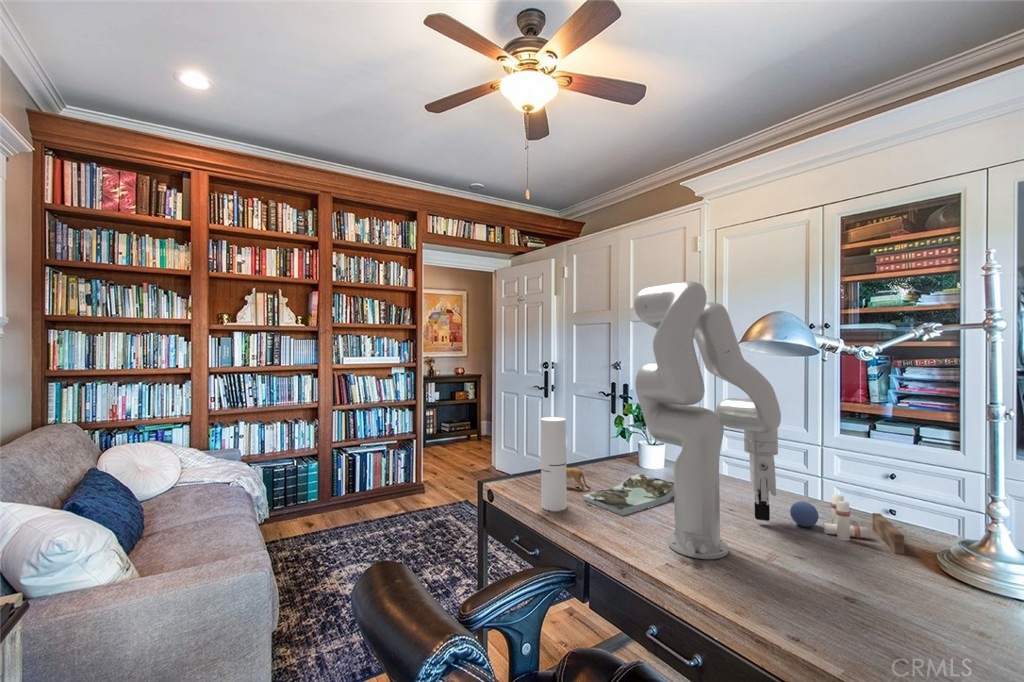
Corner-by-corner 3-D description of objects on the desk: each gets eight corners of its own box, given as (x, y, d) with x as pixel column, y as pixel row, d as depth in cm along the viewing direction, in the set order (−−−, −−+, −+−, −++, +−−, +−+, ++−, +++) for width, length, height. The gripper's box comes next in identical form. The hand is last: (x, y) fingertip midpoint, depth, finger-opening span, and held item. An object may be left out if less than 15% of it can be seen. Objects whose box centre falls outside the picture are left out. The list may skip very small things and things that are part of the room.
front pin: (826, 535, 108) (870, 540, 104) (825, 524, 108) (869, 529, 104) (823, 531, 110) (866, 536, 107) (823, 520, 110) (866, 525, 107)
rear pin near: (852, 542, 104) (851, 505, 104) (838, 540, 105) (837, 503, 105) (848, 537, 106) (847, 501, 106) (835, 536, 107) (834, 500, 107)
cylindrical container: (565, 512, 124) (564, 421, 125) (539, 510, 126) (539, 420, 126) (567, 503, 131) (566, 417, 132) (543, 501, 133) (542, 416, 133)
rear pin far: (845, 533, 108) (845, 498, 108) (832, 532, 109) (832, 496, 109) (842, 529, 111) (842, 495, 111) (829, 528, 112) (829, 493, 112)
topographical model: (622, 518, 121) (620, 499, 121) (584, 508, 133) (582, 491, 134) (682, 495, 135) (679, 479, 135) (642, 488, 148) (640, 473, 148)
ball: (807, 493, 113) (790, 507, 112) (828, 514, 110) (811, 528, 109) (797, 500, 118) (781, 513, 117) (817, 520, 115) (801, 534, 113)
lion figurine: (544, 488, 146) (543, 460, 146) (547, 483, 151) (547, 456, 151) (589, 492, 141) (589, 463, 141) (592, 487, 146) (591, 459, 146)
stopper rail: (904, 554, 97) (903, 535, 97) (895, 553, 98) (894, 534, 98) (880, 530, 110) (880, 513, 110) (872, 529, 111) (872, 512, 111)
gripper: (782, 454, 106) (784, 532, 106) (773, 441, 120) (774, 511, 120) (746, 451, 109) (748, 527, 109) (742, 439, 123) (743, 507, 122)
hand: (762, 518), depth 114 cm, fingers closed
